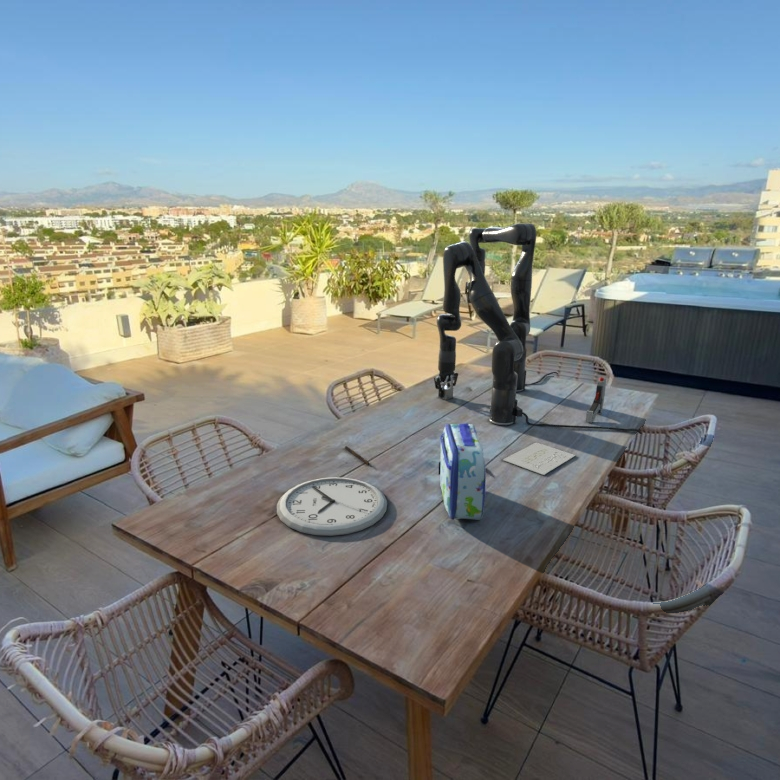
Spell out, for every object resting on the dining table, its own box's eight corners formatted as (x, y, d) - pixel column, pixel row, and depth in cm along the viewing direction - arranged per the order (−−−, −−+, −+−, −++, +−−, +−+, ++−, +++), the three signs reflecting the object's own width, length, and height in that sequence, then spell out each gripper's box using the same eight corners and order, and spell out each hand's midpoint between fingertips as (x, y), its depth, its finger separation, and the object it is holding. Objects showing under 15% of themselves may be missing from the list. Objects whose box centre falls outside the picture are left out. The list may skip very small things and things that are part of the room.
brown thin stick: (344, 448, 179) (344, 445, 179) (346, 448, 179) (346, 445, 179) (367, 464, 167) (367, 462, 167) (368, 464, 167) (368, 461, 167)
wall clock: (392, 527, 129) (268, 531, 127) (391, 533, 130) (269, 537, 127) (383, 473, 158) (282, 475, 155) (383, 478, 158) (282, 480, 156)
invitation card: (535, 442, 186) (575, 454, 176) (535, 442, 187) (575, 455, 176) (502, 459, 172) (543, 474, 162) (502, 460, 172) (543, 475, 162)
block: (438, 397, 235) (438, 387, 234) (444, 395, 238) (445, 385, 236) (446, 400, 232) (446, 389, 230) (452, 398, 235) (453, 387, 233)
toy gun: (589, 386, 202) (601, 375, 213) (585, 424, 208) (596, 411, 219) (595, 387, 201) (607, 376, 212) (591, 425, 207) (602, 412, 218)
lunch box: (436, 479, 158) (439, 414, 152) (472, 480, 158) (476, 415, 152) (443, 526, 133) (448, 451, 127) (486, 527, 133) (492, 452, 127)
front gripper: (442, 364, 222) (440, 402, 228) (464, 359, 232) (462, 395, 237) (429, 360, 228) (428, 397, 233) (451, 355, 237) (449, 391, 242)
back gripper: (473, 271, 254) (471, 304, 259) (492, 269, 263) (489, 302, 268) (462, 269, 259) (460, 302, 264) (480, 268, 268) (478, 300, 273)
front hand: (445, 396), depth 235 cm, fingers closed on block, 4 cm apart
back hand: (475, 302), depth 266 cm, fingers open, 8 cm apart
